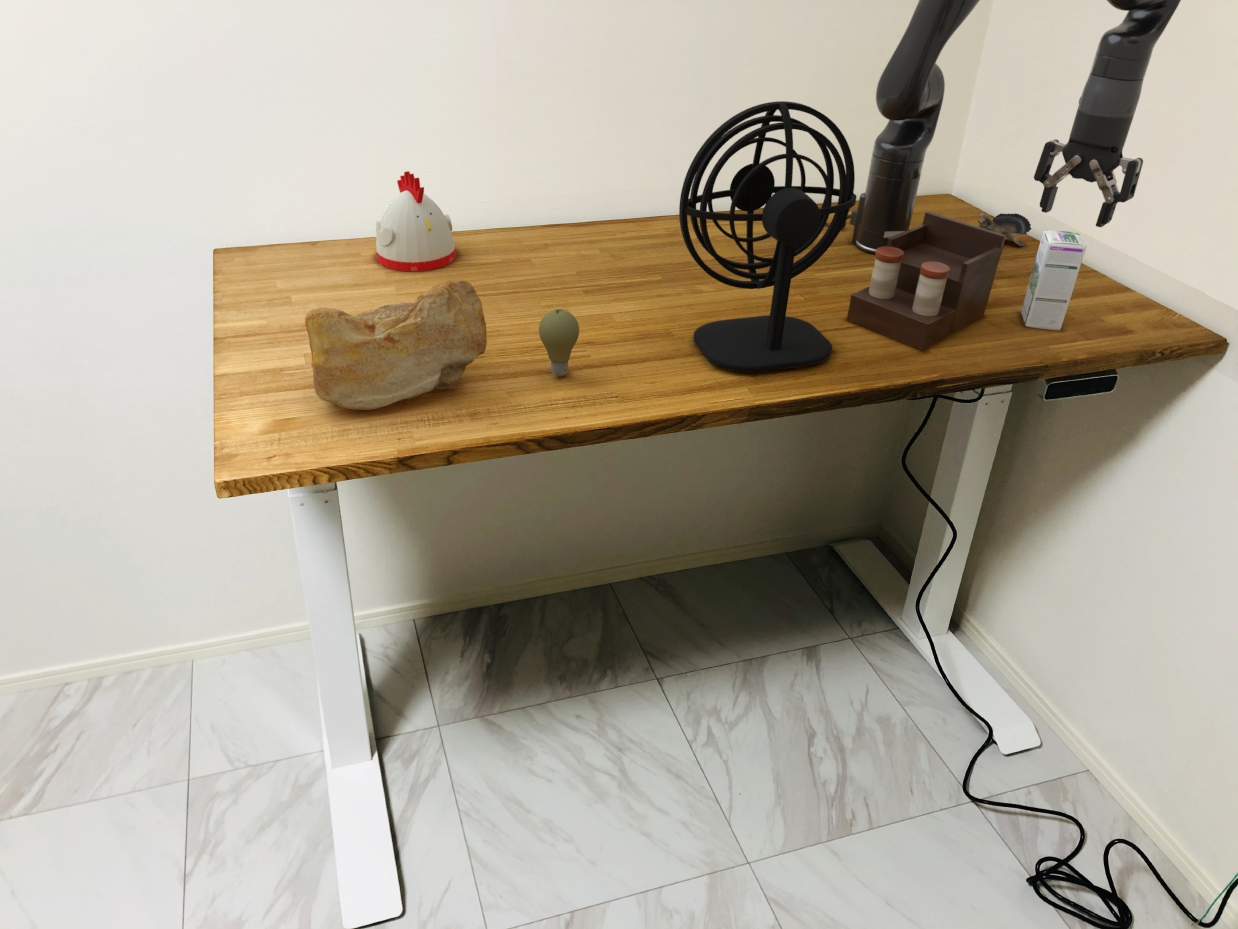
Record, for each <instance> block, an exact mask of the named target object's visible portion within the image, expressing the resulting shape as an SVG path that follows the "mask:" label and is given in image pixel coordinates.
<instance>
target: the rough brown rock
mask: <svg viewBox="0 0 1238 929" xmlns="http://www.w3.org/2000/svg"><path fill="white" fill-rule="evenodd" d="M483 308H484V307H483V302H482V300H481V297H480V296H479V295H478V293H477V291H476V290H475V288H474V286H473V283H471V282H470V281H467V280H463V279H451V280H448V281H445V282H441V283H438V284H435V285H433V286H432V287H431V288H429V289H427V290H425V291H423V292H421V293H420V294H419V296H417V297H416V299H415V300H414V301H413V302H399V303H393V304H386V305H383V306H379V307H378V308H376V309H372V310H368V311H364V312H362V313H358V314H356V315H353V314H349V313H347V312H345V311H343V310H341V309H338V308H337V309H336V308H330V307H318V308H312V309H311V310H309V311H308V312H307V313H306V315H305V316H304V317H305V318H304V324H305V329H306V332H307V335H308V336H307V337H308V343H309V347H310V353H311V368H312V373H313V374H312V376H313V378H312V379H313V389H314V391H315V395H316V396H317V397H318V398H319V399H320V400H322V401H323V402H327V403H330V404H334V405H337V406H338V407H340V408H343V409H348V410H360V411H361V410H366V411H370V410H376V409H381V408H384V407H388V406H391V405H393V404H395V403H398V402H400V401H403V400H406V399H412V398H417V397H419V396H420V395H423V394H426V393H429V392H431V391H433V390H434V389H438V390H445V389H446V390H447V389H452V388H455V387H456V386H457V385H458V384H459V383H460V381H461V380H462V377H463V375H464V372H465V371H466V368H467V366H469V365H470V364H472V363H473V362H474V361H475V359H477V358H478V356H481V355H483V354H485V352H486V349H487V345H488V344H487V343H488V338H487V323H486V320H485V315H484V309H483Z"/></svg>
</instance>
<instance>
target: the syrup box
mask: <svg viewBox="0 0 1238 929" xmlns="http://www.w3.org/2000/svg"><path fill="white" fill-rule="evenodd" d="M1086 249H1087V245H1086V243H1085V241H1084V239H1083V238H1082V236H1081V233H1078V232H1073V231H1066V230H1043V232H1042V235H1041V238H1040V242H1039V246H1038V249H1037V252H1036V256H1035V260H1034V263H1033V267H1032V271H1031V273H1030V277H1029V279H1028V280H1029V281H1028V284H1027V288H1026V291H1025V295H1024V298H1023V301H1022V306H1021V309H1020V316H1021V318H1022V321H1023V323H1024V326H1025V327H1028V328H1033V329H1041V330H1050V331H1061V329H1062V326H1063V323H1064V320H1065V317H1066V314H1067V311H1068V308H1069V305H1070V302H1071V298H1072V295H1073V292H1074V288H1075V285H1076V282H1077V278H1078V275H1079V272H1080V269H1081V266H1082V262H1083V259H1084V255H1085V252H1086Z"/></svg>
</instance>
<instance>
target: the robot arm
mask: <svg viewBox="0 0 1238 929" xmlns="http://www.w3.org/2000/svg"><path fill="white" fill-rule="evenodd" d="M980 1H981V0H918V2H917V4H916V6H915V9H914V11H913V14H912V16H911V18H910V21H909V23H908V25H907V27H906V29H905V30H904V33H903V35H902V37H901V39H900V40H899V43H898V44H897V45H896V48H895V50H894V51H893V54H892V55H891V56H890V59H889V60H888V62H887V64H886V66H885V67H884V69H883V71H882V73H881V75H880V77H879V79H878V82H877V84H876V88H875V89H876V91H875V103H876V104H875V105H876V108H877V110H878V112H879V113H880V115H881V116H882V117H883V118H885V119H887V120H888V122H887V123H886V125H885V127H884V128H883V130H882V131H881V132H880V133H879V134H878V135H877V136H876V138H875V140H874V143H873V148H872V154H871V158H870V164H869V171H868V176H867V181H866V185H865V192H863V193H861V194H860V195H859V199H858V204H857V209H854V210H852V211H851V214H848V215H847V218H846V220H845V222H844V225H843V227H842V228H841V230H843V229H845V228H846V225H847V220H849V225H851V226H853V232H852V237H851V244H854V245H855V246H856V247H857V248H858V249H860V250H862V251H864V252H866V253H871V254H874V255H875V254H876V249H877V248H879V247H883V246H887V243H888V238H890V237H892V236H895V235H897V234H900V233H902V232H905V231H907V230H910V227H911V223H912V218H913V213H914V209H915V204H916V200H917V195H918V190H919V186H920V180H921V178H922V172H923V167H924V163H925V158H926V153H927V150H928V148H929V147H930V145H931V143H932V141H933V139H934V136H935V133H936V130H937V125H938V121H939V117H940V114H941V110H942V106H943V102H944V97H945V92H946V91H945V89H946V82H945V76H944V73H943V71H942V69H941V67H940V66H939V65H938V64H937V61H938V59H939V57H940V55H941V53H942V51H943V49H944V48H945V46H946V44H947V43H948V41H949V40H950V39H951V38H952V36H953V35H954V34H955V32H956V31H957V30H958V29H959V28H960V26H961V25H962V24H963V23H964V22H965V20H966V19H967V18H968V17H969V15H971V13H972V12H973V11H974V9H975V8H976V7H977V5H978V4H979V2H980ZM1106 1H1107V2H1108V4H1110V6H1112V7H1113V8H1115V9H1117V10H1120V11H1124V12H1127V13H1126V15H1125V17H1124V19H1123V20H1122V22H1121V23H1120V24H1118V25H1117V26H1115V27H1113V28H1110V29H1108V30H1106V31H1105V32H1104V33H1103V34H1102V36H1101V37H1100V39H1099V42H1098V45H1097V49H1096V51H1095V55H1094V58H1093V62H1092V65H1091V68H1090V72H1089V75H1088V78H1087V80H1086V82H1085V85H1084V87H1083V89H1082V92H1081V95H1080V97H1079V99H1078V105H1077V109H1076V113H1075V117H1074V120H1073V123H1072V126H1071V130H1070V133H1069V138H1068V141H1067V142H1066V144H1065V143H1062V142H1060V141H1059V139H1052V140H1049V141H1046V142H1045V144H1044V146H1043V148H1042V151H1041V154H1040V157H1039V160H1038V163H1037V166H1036V169H1035V172H1034V174H1033V180H1034V181H1036V182H1039V183H1041V184H1042V185H1043V191H1042V194H1041V198H1040V201H1039V208H1041V212H1042V213H1045V214H1047V213H1049V212H1051V211H1052V209H1053V207H1054V203H1055V199H1056V196H1057V193H1058V189H1059V187H1058V186H1057V185H1058V184H1060V182H1062V181H1063V180H1064V179H1065V178H1067V177H1068V176H1069V175H1070V176H1071V178H1072V179H1076V180H1084V181H1085V182H1088V183H1095V182H1096V185H1097V187H1098V189H1099V190H1100V191H1101V193H1102V196H1103V199H1104V202H1102V205H1101V207H1100V211H1099V213H1098V215H1097V219H1096V223H1095V227H1097V228H1103V227H1104V226H1105V225H1108V224H1109V223H1110V222H1111V221H1112V219H1113V216H1114V214H1115V211H1116V207H1117V205H1118V203H1125V202H1128V201H1130V200H1132V199H1133V198H1134V196H1135V193H1136V190H1137V185H1138V184H1139V183H1138V182H1139V179H1140V176H1141V171H1142V168H1143V164H1144V159H1143V158H1142V157H1136V158H1129V157H1124V155H1123V149H1124V147H1125V144H1126V141H1127V138H1128V135H1129V132H1130V128H1131V126H1132V123H1133V120H1134V117H1135V114H1136V110H1137V107H1138V104H1139V101H1140V97H1141V93H1142V89H1143V84H1144V79H1145V77H1146V74H1147V70H1148V67H1149V64H1150V61H1151V58H1152V54H1153V50H1154V48H1155V47H1156V44H1157V42H1159V40H1160V38H1161V36H1162V35H1163V33H1164V31H1165V29H1166V28H1167V27H1168V25H1169V23H1170V21H1171V19H1172V17H1173V16H1174V14H1175V12H1176V11H1177V9H1178V7H1179V5H1180V3H1181V1H1182V0H1106ZM1060 154H1062V158H1063V160H1064V163H1065V164H1064V165H1062V166H1061V167H1060V168H1059V169H1057V170H1056V171H1055V172H1053V174H1050V172H1051V170H1052V167H1053V164H1054V161H1055V157H1058V156H1059V155H1060ZM1120 166H1121V172H1122V174H1123V175H1124V177H1123V181H1122V185H1121V188H1120V191H1119V187H1118V184H1117V183H1118V181H1117V178H1116V175H1115V172H1114V170H1115V169H1117V168H1119V167H1120ZM829 225H830V224H828V223H826V224H825V226H824V227H827V228H828V227H829Z"/></svg>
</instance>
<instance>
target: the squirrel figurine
mask: <svg viewBox="0 0 1238 929" xmlns="http://www.w3.org/2000/svg"><path fill="white" fill-rule="evenodd" d="M977 222H978V224H979V227H980V228H984V229H987V230H990V231H994V232H997V233H1000V234H1003V235H1006V237H1005V238H1007V239H1009V240H1011V241H1012V242H1014V244H1016V245H1017V246H1019V247H1024V246H1025V245H1024V243H1022V242H1021V241H1020V240H1019V239H1018V237H1017V236H1016V235H1015V234H1018V235H1027V233H1029V232H1030V231H1031V230H1032V227H1031V226H1032V224H1031V223H1030V221H1029V219H1028V218H1027V217H1025V216H1024V215H1022V214H1020V213H999V214H997V215H996V216H994V217H993V218H992V219H991V218H990V217H989V216H988V214H987V213H981V214H980V220H979V219H977Z"/></svg>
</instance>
